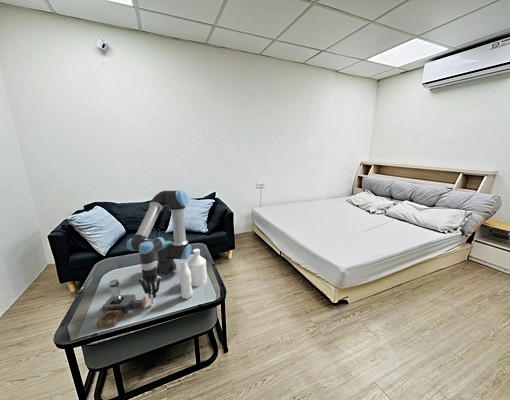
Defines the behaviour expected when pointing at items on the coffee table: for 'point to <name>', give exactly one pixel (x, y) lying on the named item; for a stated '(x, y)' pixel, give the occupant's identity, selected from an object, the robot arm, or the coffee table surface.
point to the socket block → (122, 306)
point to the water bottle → (185, 281)
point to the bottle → (198, 269)
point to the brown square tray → (109, 318)
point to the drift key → (138, 303)
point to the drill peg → (115, 291)
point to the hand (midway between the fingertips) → (153, 302)
